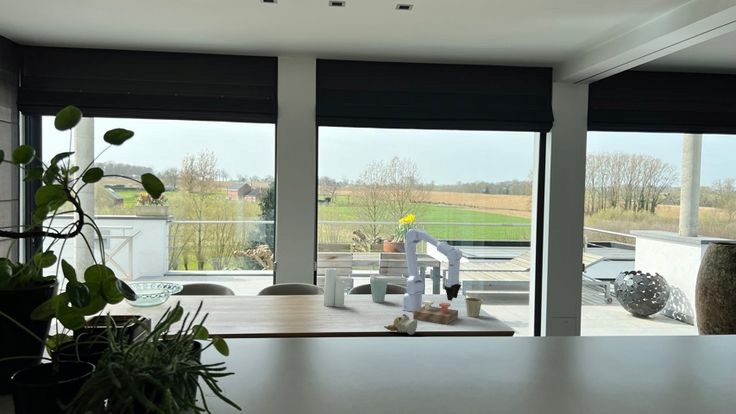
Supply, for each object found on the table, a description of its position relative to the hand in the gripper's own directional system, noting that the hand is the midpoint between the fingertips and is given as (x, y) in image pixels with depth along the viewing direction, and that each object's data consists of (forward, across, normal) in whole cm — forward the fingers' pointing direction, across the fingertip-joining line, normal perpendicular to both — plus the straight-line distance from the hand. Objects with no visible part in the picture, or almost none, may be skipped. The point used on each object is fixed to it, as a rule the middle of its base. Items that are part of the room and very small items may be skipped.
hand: (452, 299), depth 284 cm
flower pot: (+10, +11, -8) cm, 17 cm away
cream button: (+7, -6, +11) cm, 14 cm away
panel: (+10, -6, +6) cm, 13 cm away
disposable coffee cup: (+10, +12, +48) cm, 50 cm away
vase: (+10, -12, +63) cm, 65 cm away
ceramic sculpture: (+10, -41, +10) cm, 43 cm away
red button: (+7, -7, +2) cm, 10 cm away
